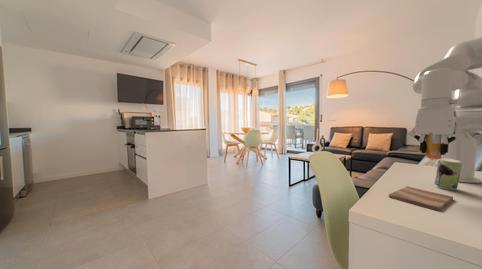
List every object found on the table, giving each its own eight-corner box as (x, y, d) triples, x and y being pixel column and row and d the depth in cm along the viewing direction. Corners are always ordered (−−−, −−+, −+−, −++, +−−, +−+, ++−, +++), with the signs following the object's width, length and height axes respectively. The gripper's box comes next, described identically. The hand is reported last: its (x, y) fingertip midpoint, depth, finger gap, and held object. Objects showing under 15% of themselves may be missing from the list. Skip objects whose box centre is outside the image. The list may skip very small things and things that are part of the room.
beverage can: (446, 185, 74) (447, 157, 74) (466, 192, 67) (468, 160, 67) (429, 185, 75) (430, 156, 74) (447, 191, 68) (449, 160, 67)
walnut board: (406, 188, 71) (406, 186, 71) (453, 199, 61) (453, 196, 61) (388, 197, 63) (388, 194, 63) (438, 211, 52) (438, 207, 52)
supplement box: (424, 157, 69) (425, 131, 69) (436, 157, 68) (437, 131, 67) (429, 158, 66) (430, 131, 65) (442, 159, 65) (443, 131, 64)
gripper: (475, 102, 60) (471, 155, 61) (409, 106, 75) (407, 150, 76) (470, 101, 57) (467, 158, 58) (401, 106, 71) (400, 151, 72)
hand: (433, 153), depth 67 cm, fingers closed on supplement box, 4 cm apart
